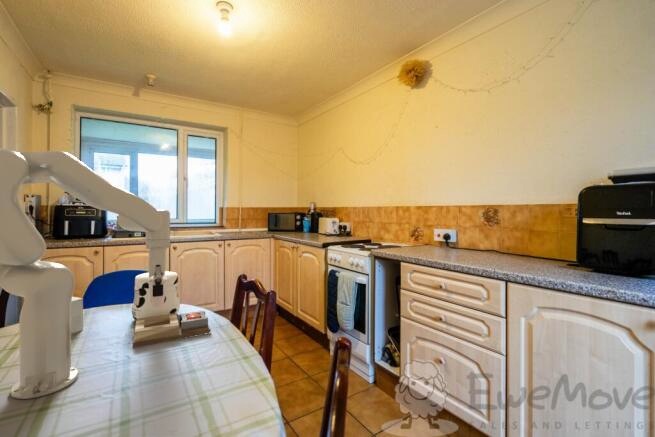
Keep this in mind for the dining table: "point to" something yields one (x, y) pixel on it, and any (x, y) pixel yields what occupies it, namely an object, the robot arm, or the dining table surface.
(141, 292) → the milk container
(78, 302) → the skincare box
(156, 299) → the smoothie
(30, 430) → the dining table surface
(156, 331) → the wooden tray with button
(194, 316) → the button
